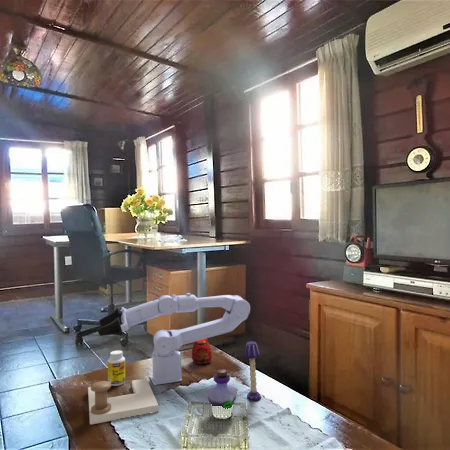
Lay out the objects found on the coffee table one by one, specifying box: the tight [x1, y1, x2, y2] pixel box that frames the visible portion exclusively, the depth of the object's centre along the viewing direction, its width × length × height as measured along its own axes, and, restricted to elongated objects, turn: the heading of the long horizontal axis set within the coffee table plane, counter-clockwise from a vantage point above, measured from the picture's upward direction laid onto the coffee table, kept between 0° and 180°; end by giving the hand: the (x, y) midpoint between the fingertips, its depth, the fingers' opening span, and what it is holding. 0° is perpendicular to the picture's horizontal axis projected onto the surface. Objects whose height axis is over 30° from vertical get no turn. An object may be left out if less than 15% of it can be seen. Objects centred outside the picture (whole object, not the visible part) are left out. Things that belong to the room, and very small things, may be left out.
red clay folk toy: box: [191, 320, 213, 365], centre depth 146 cm, size 8×7×15 cm
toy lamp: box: [243, 340, 262, 402], centre depth 115 cm, size 5×5×17 cm
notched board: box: [87, 378, 159, 426], centre depth 113 cm, size 18×20×9 cm
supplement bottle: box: [107, 350, 126, 387], centre depth 127 cm, size 6×6×10 cm
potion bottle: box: [205, 369, 238, 409], centre depth 105 cm, size 9×9×12 cm
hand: (99, 327), depth 125 cm, fingers open, 7 cm apart
